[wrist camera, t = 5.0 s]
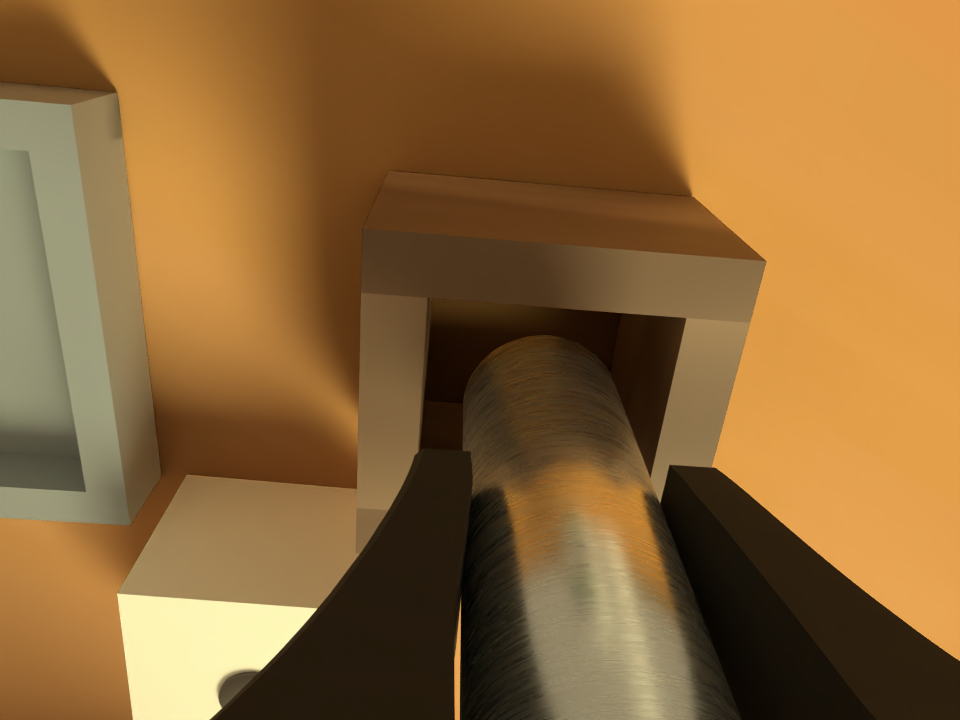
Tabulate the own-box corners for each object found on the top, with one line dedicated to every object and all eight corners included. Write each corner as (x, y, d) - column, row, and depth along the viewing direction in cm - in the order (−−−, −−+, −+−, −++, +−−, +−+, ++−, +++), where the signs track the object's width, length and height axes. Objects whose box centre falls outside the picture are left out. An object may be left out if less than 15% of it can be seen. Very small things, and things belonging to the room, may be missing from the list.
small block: (388, 642, 20) (371, 787, 16) (198, 628, 20) (137, 773, 16) (401, 489, 18) (384, 617, 14) (188, 471, 18) (114, 597, 14)
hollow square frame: (638, 453, 17) (684, 572, 14) (378, 435, 17) (355, 553, 13) (693, 197, 15) (766, 261, 11) (388, 170, 14) (362, 228, 11)
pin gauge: (607, 470, 13) (771, 1025, 6) (461, 467, 13) (454, 1027, 6) (625, 337, 12) (851, 828, 5) (465, 333, 12) (461, 825, 5)
